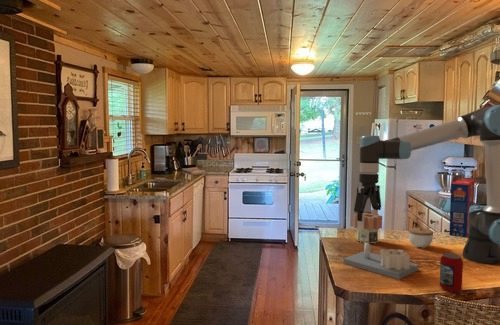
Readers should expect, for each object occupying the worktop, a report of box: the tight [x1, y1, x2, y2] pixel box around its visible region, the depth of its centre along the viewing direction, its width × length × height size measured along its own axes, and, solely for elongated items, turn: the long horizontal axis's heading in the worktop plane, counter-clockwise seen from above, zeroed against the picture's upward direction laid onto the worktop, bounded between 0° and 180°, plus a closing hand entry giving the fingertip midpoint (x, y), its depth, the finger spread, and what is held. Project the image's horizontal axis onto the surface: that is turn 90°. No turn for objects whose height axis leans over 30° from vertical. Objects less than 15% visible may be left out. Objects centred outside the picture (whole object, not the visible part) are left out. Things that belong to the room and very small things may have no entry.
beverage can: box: [439, 252, 464, 293], centre depth 130 cm, size 7×7×12 cm
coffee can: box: [356, 211, 379, 244], centre depth 190 cm, size 10×10×14 cm
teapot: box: [438, 197, 451, 214], centre depth 267 cm, size 15×15×11 cm
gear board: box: [343, 243, 420, 280], centre depth 153 cm, size 24×16×8 cm, turn 42°
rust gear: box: [352, 213, 383, 231], centre depth 156 cm, size 10×10×5 cm
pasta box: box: [448, 178, 476, 239], centre depth 210 cm, size 28×8×28 cm, turn 144°
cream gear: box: [379, 248, 411, 270], centre depth 148 cm, size 10×10×5 cm
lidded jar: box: [408, 226, 434, 249], centre depth 181 cm, size 11×11×9 cm
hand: (367, 226), depth 156 cm, fingers closed on rust gear, 10 cm apart
